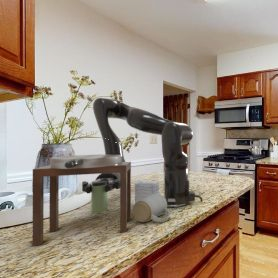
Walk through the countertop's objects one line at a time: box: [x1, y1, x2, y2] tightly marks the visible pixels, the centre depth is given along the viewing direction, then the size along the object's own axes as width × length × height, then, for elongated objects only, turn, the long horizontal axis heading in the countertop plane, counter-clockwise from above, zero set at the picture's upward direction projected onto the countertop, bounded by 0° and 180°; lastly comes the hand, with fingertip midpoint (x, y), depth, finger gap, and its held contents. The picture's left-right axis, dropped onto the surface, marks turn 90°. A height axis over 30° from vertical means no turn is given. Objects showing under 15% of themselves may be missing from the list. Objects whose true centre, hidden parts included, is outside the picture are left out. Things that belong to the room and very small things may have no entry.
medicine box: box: [134, 181, 160, 205], centre depth 84 cm, size 8×4×9 cm, turn 84°
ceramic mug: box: [132, 192, 171, 223], centre depth 68 cm, size 11×8×8 cm
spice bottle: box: [90, 181, 109, 214], centre depth 70 cm, size 4×4×10 cm
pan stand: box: [32, 154, 132, 247], centre depth 56 cm, size 20×23×21 cm
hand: (97, 189), depth 68 cm, fingers closed on spice bottle, 4 cm apart
